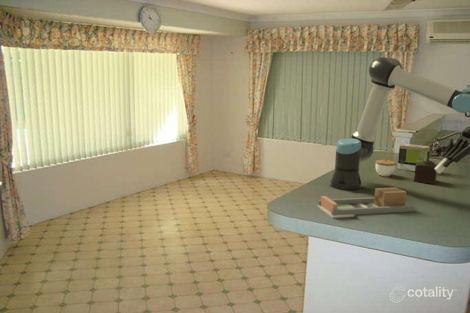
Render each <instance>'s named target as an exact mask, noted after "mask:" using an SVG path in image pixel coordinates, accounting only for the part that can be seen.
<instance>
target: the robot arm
mask: <svg viewBox="0 0 470 313" xmlns="http://www.w3.org/2000/svg"><path fill="white" fill-rule="evenodd" d="M403 66H404V65H402V62H400V61H399V60H397V59H396V58H393V57H385V56H380V57H377V58H375V59H374V60H372V61H371V63H370V64H369V67H368V74H369V76H370V78H371V80H370V85H371V86H372V87H371V90H370V92H369V95H368V98H367V100H366V104H365V107H364V109H363V112H362V115H361V118H360V121H359V124H358V126H357V129H356V131H354V132H352V133H351V137H349V138H342V139H339V140H338V141H337V142H336V147H335V160H334V161H335V164H334V171H333V173H332V175H331V178H330V183H329V186H330V187H333V188H335V189H338V190H345V191H356V190H360V189H361V188H362V179H361V176H360V164H361V163H362V162H364V161H365V162H366V161H367V160H369V159H370V158H371V157H372V156H373V154H374V151H375V146H374V143H375V142H376V141H375V140H376V139H375V138H374V135H375V133H376V131H377V130H376V129H377V126H378V124H379V122H380V119H381V116H382V113H383V111H384V107H385V105H386V103H387V100H388V97H389V95H390V92H391V91H394V90H395V88H396V87H398V88H400V89H402V90H406V91H407V92H411V93H413V94H416V95H418V96H420V97H423V98H425V99H428V100H430V101H433V102H435V103H437V104H440V105H443V106H445V107H448V108H450V109H453V110H454V111H455V112H458V113H461V114H465V113H469V114H470V90H469V89H467V88H463V89H462V90H461V91H460V90H459V89H458V90H457V89H455V88H453V87H449V86H447V85H444V84H442V83H439V82H436V81H433V80H431V79H428V78H426V77H424V76H421V75H419V74H415V73H413V72H410V71H408V70H405V69H404V67H403ZM468 154H470V123H469V124H468V126H467V127H465V129H464V130H463V131H462V132H461V136H459V137H458V138H457V139H455V140H454V139H453V138H452V139H450V140H449V144H447V147H446V148H445V150H443V152H442V153H441V156H442V158H443V159H441V160H440V161H439V163H437V164H438V165H437V166H436V167H435V168H434V169H435V171H436V172H437V173H438V175H439V174H441V173H443V171H444V170H445V169H446V168H448V167H449V166H450V165H451V164H452V163H459V161H461V160H462V159H464V157H466V156H467V155H468Z"/></svg>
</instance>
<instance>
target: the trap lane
mask: <svg viewBox="0 0 470 313" xmlns="http://www.w3.org/2000/svg"><path fill="white" fill-rule="evenodd" d="M374 197H375V196H373V197H370V196H369V197H354V198H353V197H349V198H348V197H347V198H333V199H331V198H329V197H328V196H326V195H321V196H320V199H318V200H317V208H319V209H320V210H321V211H322V212H324V213H326V214H327V215H328V216H329V217H330V218H333V219H335V218H338V219H339V218H352V217H354V218H356V217H357V215H366V214H368V215H369V214H382V213H383V214H384V213H386V214H387V213H401V212H402V213H403V212H415V211H416V210H415V209H416V206H415V204H414V205H413V204H410V205H409V204H408V205H406V204H405V205H404V206H385V207H378V206H376V205H374Z"/></svg>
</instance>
